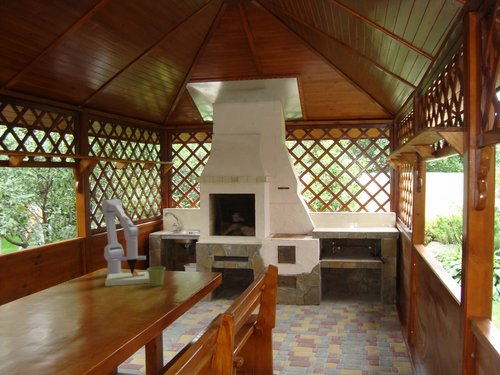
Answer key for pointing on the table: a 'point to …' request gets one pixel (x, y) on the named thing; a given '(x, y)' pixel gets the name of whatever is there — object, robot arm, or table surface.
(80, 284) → the table surface
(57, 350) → the table surface
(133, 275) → the ball
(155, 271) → the plant pot
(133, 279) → the deck
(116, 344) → the table surface
